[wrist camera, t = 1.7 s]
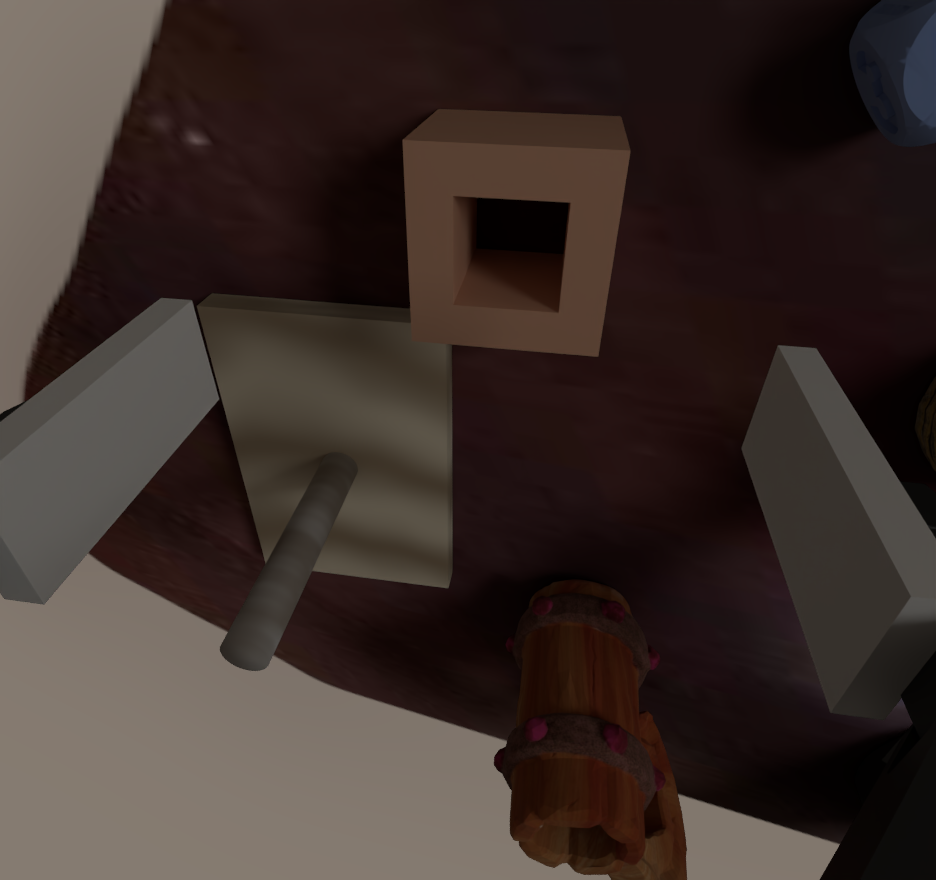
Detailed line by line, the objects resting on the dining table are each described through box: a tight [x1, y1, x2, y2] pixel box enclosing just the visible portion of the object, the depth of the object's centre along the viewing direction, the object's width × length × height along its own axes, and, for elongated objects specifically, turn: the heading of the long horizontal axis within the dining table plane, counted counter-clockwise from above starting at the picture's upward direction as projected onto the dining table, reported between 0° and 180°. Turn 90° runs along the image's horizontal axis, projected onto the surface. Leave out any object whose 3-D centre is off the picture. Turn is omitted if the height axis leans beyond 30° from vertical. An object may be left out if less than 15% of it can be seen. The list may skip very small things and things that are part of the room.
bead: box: [403, 109, 630, 357], centre depth 23 cm, size 7×7×6 cm
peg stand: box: [197, 293, 452, 671], centre depth 30 cm, size 18×12×14 cm, turn 179°
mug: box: [494, 579, 687, 880], centre depth 35 cm, size 15×8×15 cm, turn 37°
